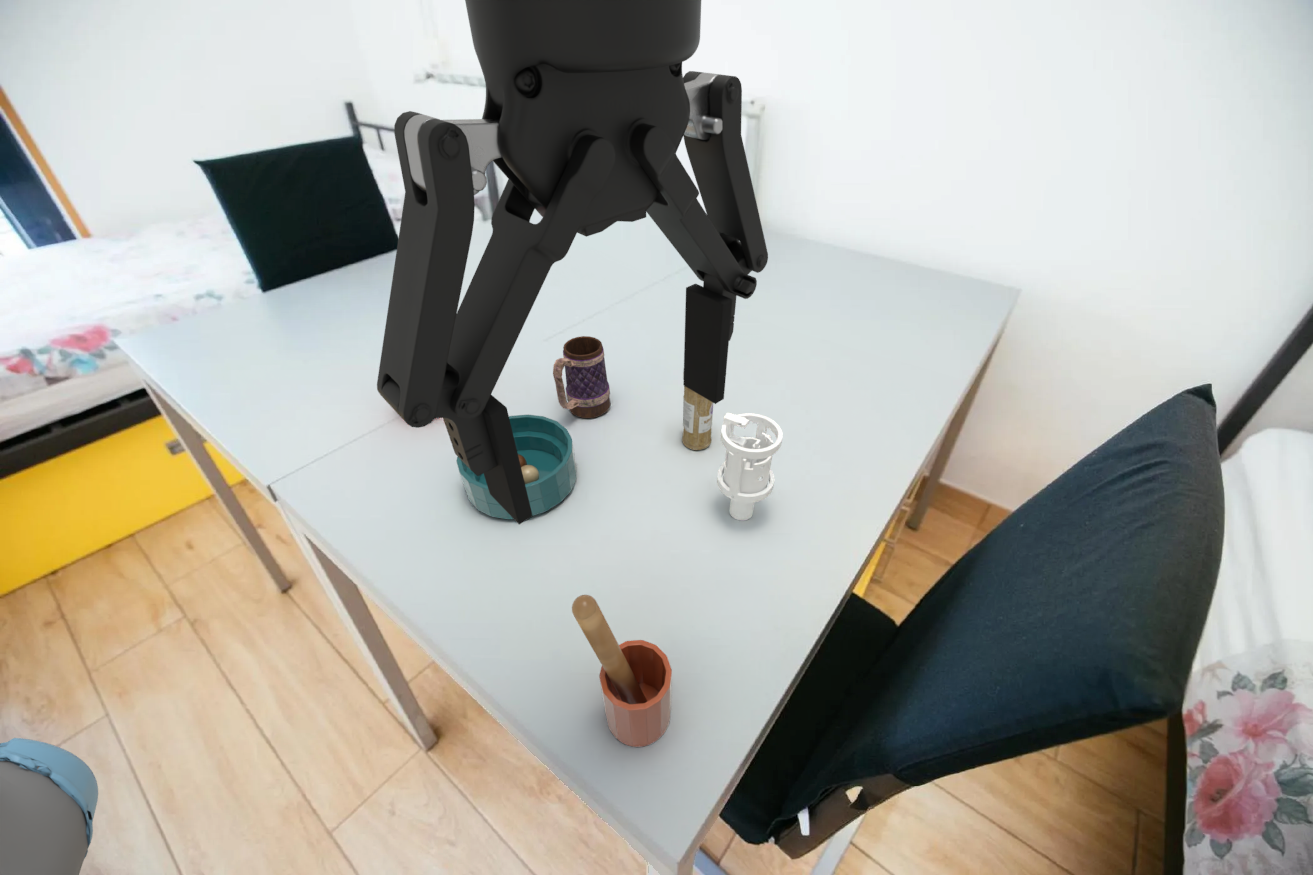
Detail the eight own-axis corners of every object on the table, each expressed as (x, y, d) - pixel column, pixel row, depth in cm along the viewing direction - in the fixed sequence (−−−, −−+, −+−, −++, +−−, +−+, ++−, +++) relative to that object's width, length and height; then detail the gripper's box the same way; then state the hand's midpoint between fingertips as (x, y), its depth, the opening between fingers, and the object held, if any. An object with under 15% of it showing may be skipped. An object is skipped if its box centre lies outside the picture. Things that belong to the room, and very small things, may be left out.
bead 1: (498, 468, 76) (509, 480, 75) (504, 450, 75) (515, 462, 74) (516, 466, 79) (527, 478, 77) (522, 449, 78) (533, 461, 76)
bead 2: (519, 487, 72) (508, 472, 74) (531, 493, 75) (520, 478, 76) (535, 472, 72) (524, 457, 74) (547, 478, 75) (536, 464, 76)
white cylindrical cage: (729, 485, 75) (739, 398, 66) (776, 505, 72) (793, 418, 63) (704, 517, 71) (711, 429, 61) (753, 540, 68) (768, 452, 58)
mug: (587, 389, 93) (579, 327, 86) (619, 403, 90) (615, 340, 83) (546, 420, 87) (534, 356, 79) (579, 436, 84) (571, 371, 76)
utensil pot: (636, 763, 49) (632, 726, 44) (593, 710, 52) (585, 670, 47) (684, 714, 52) (686, 675, 47) (640, 667, 56) (638, 626, 50)
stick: (641, 725, 51) (580, 616, 40) (626, 713, 52) (563, 604, 41) (654, 707, 52) (598, 596, 41) (639, 696, 53) (581, 585, 42)
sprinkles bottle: (712, 451, 81) (718, 376, 72) (682, 451, 81) (684, 377, 72) (709, 431, 84) (714, 358, 76) (680, 432, 84) (682, 358, 76)
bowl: (503, 541, 68) (494, 509, 65) (448, 479, 77) (436, 448, 73) (598, 482, 76) (594, 450, 72) (538, 432, 85) (532, 401, 81)
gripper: (12, -180, 7) (435, 629, 21) (906, -88, 20) (808, 380, 34) (9, -120, 12) (364, 523, 25) (750, -75, 24) (719, 337, 38)
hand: (618, 442), depth 30 cm, fingers open, 13 cm apart
